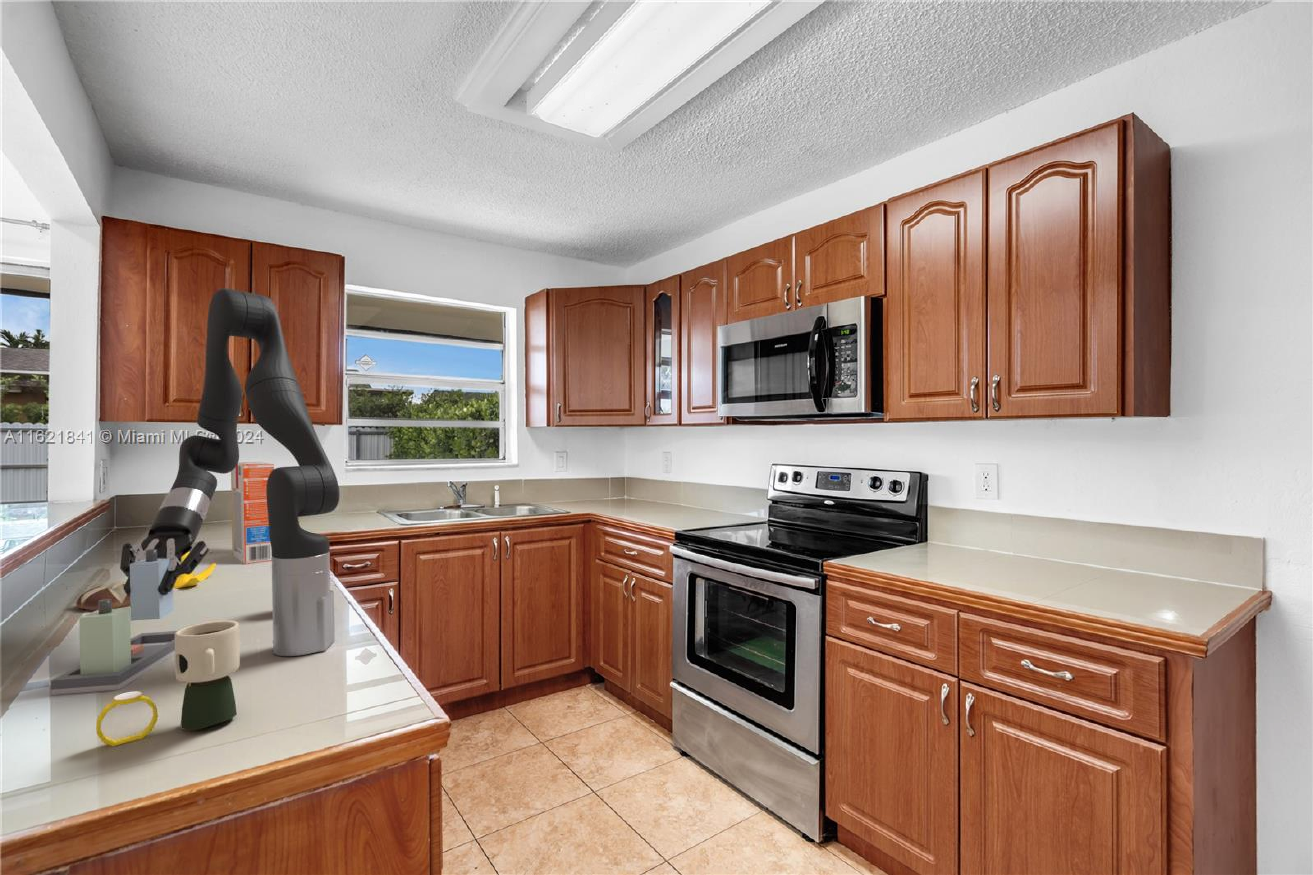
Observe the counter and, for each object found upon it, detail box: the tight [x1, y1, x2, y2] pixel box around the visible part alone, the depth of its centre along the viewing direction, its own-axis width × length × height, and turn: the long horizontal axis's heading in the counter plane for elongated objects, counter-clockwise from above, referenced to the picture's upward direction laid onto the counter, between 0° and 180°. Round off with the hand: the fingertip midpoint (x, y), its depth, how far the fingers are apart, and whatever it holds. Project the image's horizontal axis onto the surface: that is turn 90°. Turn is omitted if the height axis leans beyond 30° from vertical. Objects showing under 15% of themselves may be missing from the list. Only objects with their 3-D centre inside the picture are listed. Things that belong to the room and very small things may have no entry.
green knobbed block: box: [78, 599, 132, 675], centre depth 102 cm, size 4×4×12 cm
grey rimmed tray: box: [50, 630, 178, 696], centre depth 108 cm, size 9×23×3 cm, turn 11°
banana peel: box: [173, 550, 217, 590], centre depth 166 cm, size 17×19×17 cm
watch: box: [95, 690, 159, 747], centre depth 81 cm, size 6×3×6 cm, turn 133°
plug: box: [129, 549, 174, 621], centre depth 115 cm, size 4×4×12 cm
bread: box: [76, 581, 130, 612], centre depth 147 cm, size 11×11×5 cm
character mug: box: [174, 620, 241, 731], centre depth 86 cm, size 11×7×13 cm, turn 37°
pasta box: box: [230, 461, 275, 565], centre depth 203 cm, size 23×8×30 cm, turn 41°
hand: (146, 593), depth 113 cm, fingers closed on plug, 4 cm apart
